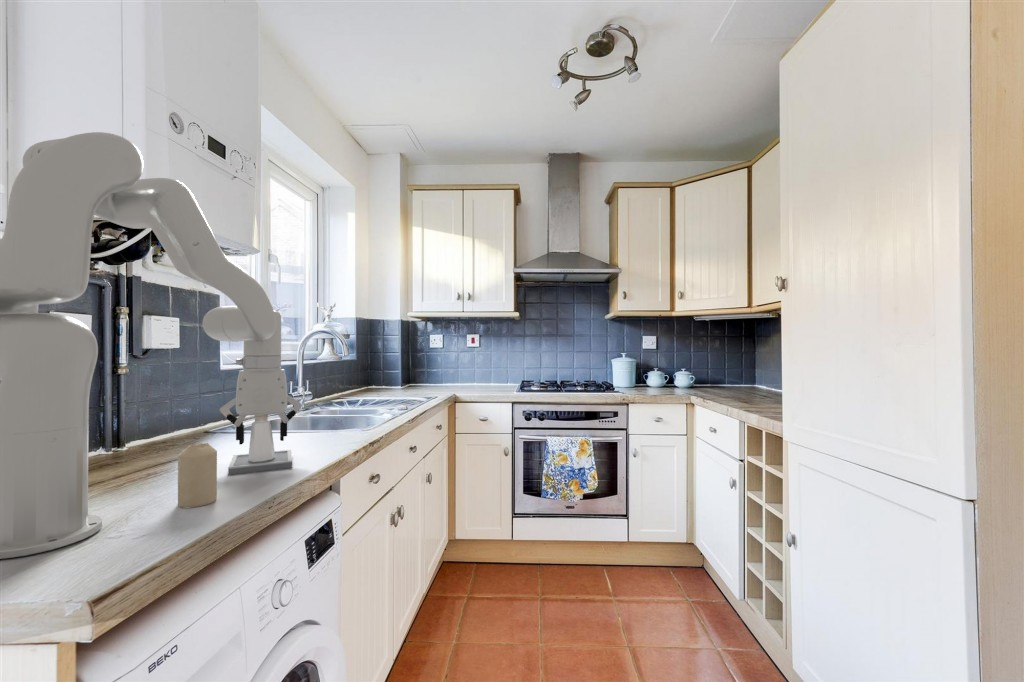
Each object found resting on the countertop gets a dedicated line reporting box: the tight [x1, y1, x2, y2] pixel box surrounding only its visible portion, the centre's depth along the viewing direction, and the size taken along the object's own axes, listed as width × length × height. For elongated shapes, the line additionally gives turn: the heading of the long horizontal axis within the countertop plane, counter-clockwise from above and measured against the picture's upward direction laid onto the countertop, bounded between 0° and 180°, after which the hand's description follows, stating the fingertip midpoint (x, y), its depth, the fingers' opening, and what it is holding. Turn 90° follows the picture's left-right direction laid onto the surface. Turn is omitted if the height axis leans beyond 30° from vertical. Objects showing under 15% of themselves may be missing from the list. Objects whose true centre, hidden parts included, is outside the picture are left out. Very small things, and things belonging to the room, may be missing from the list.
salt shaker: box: [248, 414, 275, 462], centre depth 102 cm, size 5×5×11 cm
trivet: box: [227, 449, 293, 476], centre depth 102 cm, size 12×12×2 cm
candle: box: [177, 442, 218, 509], centre depth 78 cm, size 6×6×10 cm
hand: (262, 441), depth 102 cm, fingers open, 7 cm apart
